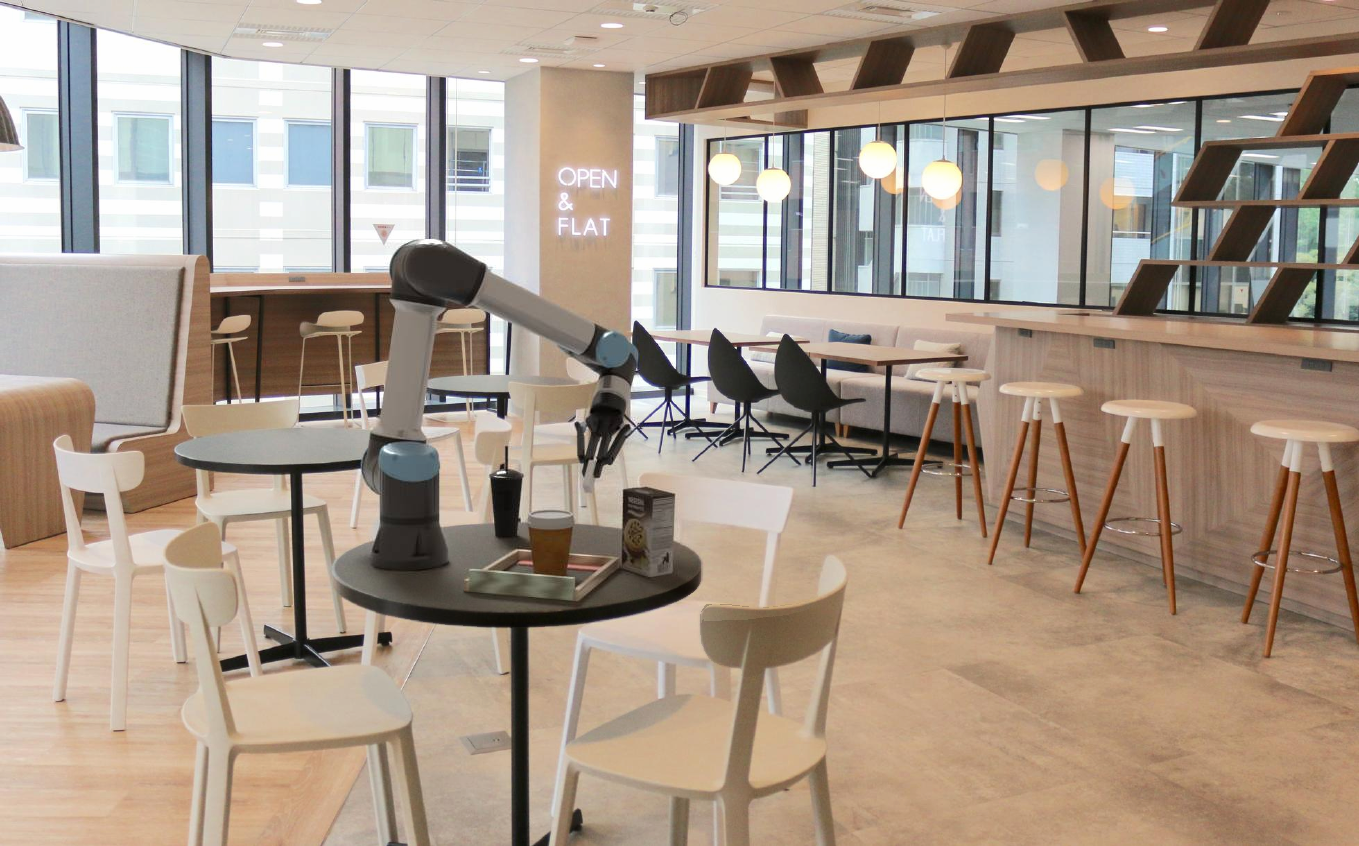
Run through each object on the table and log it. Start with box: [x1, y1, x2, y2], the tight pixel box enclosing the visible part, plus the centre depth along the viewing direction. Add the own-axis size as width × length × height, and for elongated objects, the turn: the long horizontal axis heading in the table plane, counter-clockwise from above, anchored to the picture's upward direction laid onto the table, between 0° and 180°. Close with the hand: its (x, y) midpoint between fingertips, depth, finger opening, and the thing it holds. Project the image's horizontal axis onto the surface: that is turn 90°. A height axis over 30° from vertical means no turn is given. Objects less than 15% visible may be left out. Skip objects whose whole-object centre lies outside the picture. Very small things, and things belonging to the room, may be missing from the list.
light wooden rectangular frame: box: [463, 548, 620, 602], centre depth 226 cm, size 22×26×4 cm
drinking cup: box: [488, 445, 525, 538], centre depth 261 cm, size 8×8×20 cm
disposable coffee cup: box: [525, 509, 576, 577], centre depth 228 cm, size 10×10×12 cm
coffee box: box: [621, 486, 676, 578], centre depth 233 cm, size 9×6×16 cm
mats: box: [516, 559, 603, 572], centre depth 236 cm, size 18×4×1 cm, turn 77°
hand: (587, 488), depth 247 cm, fingers closed
